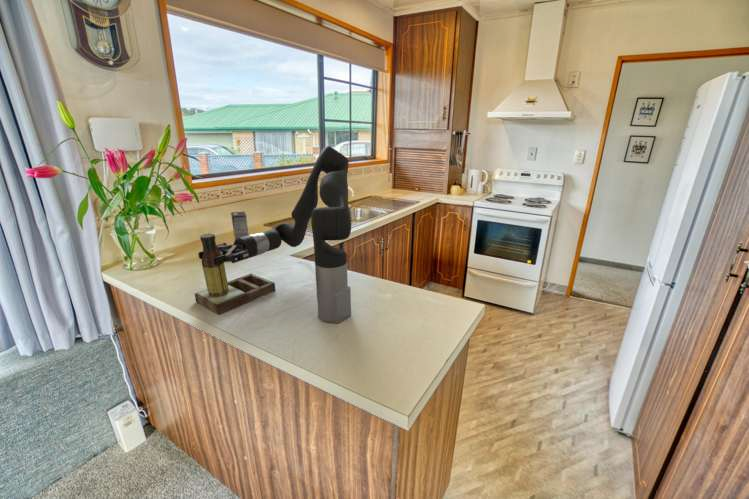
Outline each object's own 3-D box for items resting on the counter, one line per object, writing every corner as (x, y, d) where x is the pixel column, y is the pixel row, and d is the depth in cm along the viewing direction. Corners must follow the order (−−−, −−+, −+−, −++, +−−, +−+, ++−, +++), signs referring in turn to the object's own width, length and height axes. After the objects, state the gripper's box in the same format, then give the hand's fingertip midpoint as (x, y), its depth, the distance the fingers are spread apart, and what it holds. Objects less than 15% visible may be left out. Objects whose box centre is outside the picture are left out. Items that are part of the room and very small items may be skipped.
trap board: (275, 290, 120) (274, 282, 119) (218, 314, 104) (217, 305, 103) (251, 280, 128) (250, 272, 127) (196, 301, 112) (194, 292, 111)
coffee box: (235, 243, 170) (230, 212, 165) (249, 242, 173) (245, 211, 167) (236, 249, 162) (231, 216, 157) (250, 247, 165) (246, 215, 159)
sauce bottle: (222, 287, 115) (213, 230, 108) (233, 292, 111) (224, 234, 105) (203, 294, 110) (192, 235, 103) (214, 300, 106) (203, 239, 100)
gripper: (238, 231, 120) (192, 242, 108) (263, 238, 112) (216, 252, 99) (241, 251, 122) (196, 265, 110) (266, 260, 114) (220, 275, 102)
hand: (206, 258), depth 105 cm, fingers open, 8 cm apart
